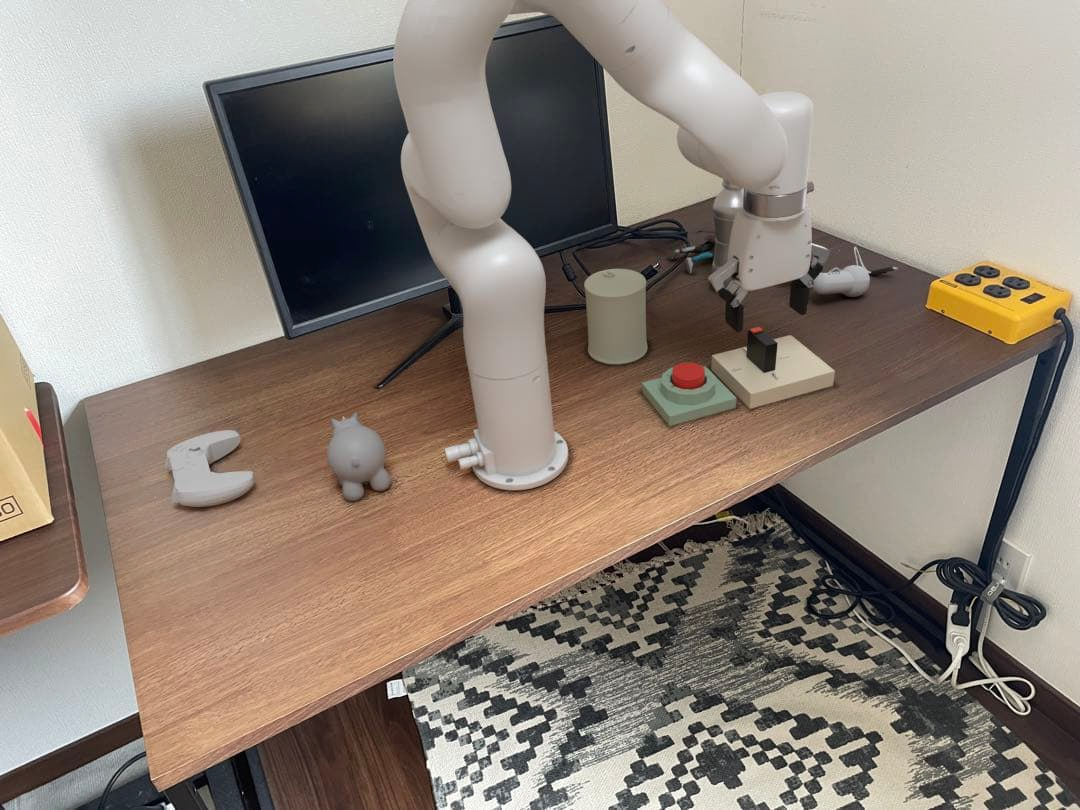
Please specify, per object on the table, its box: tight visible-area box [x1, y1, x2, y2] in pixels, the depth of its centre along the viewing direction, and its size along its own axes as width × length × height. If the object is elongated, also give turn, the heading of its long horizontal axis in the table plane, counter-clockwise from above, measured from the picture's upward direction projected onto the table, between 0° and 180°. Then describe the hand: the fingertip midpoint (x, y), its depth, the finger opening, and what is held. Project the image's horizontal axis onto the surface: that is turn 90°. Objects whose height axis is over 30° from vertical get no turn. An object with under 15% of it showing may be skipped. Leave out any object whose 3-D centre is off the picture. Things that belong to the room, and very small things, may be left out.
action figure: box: [669, 229, 716, 275], centre depth 147 cm, size 8×6×18 cm
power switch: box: [641, 365, 738, 427], centre depth 112 cm, size 10×9×4 cm
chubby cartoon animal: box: [326, 411, 392, 502], centre depth 103 cm, size 7×12×8 cm, turn 21°
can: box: [583, 268, 648, 365], centre depth 122 cm, size 9×9×12 cm
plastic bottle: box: [710, 179, 744, 293], centre depth 133 cm, size 6×7×20 cm
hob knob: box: [746, 326, 778, 373], centre depth 113 cm, size 5×2×5 cm, turn 18°
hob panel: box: [710, 334, 836, 410], centre depth 114 cm, size 13×11×3 cm
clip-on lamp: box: [810, 246, 899, 298], centre depth 134 cm, size 12×6×18 cm
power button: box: [672, 361, 705, 389], centre depth 110 cm, size 4×4×2 cm
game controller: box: [164, 429, 255, 508], centre depth 106 cm, size 14×4×10 cm
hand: (766, 319), depth 110 cm, fingers open, 9 cm apart
